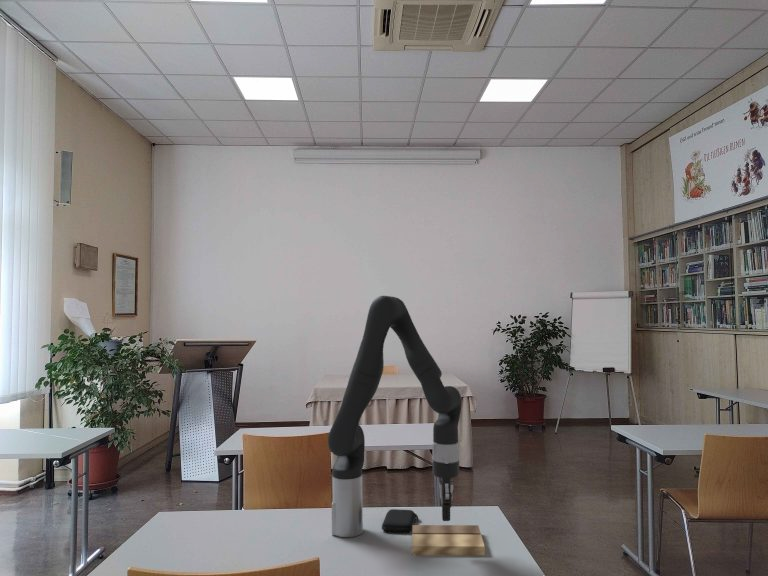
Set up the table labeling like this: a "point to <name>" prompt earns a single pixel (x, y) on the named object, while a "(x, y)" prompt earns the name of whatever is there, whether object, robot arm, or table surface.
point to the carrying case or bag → (399, 521)
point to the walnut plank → (446, 529)
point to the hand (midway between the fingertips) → (446, 520)
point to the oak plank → (447, 544)
